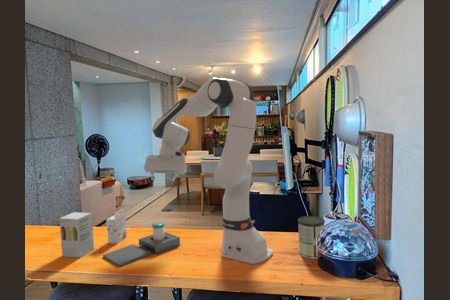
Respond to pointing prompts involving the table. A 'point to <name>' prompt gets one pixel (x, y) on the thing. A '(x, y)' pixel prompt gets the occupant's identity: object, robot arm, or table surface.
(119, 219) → the ink cartridge box
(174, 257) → the table surface
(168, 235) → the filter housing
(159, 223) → the teal-capped white cylinder
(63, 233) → the supplement box
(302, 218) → the coffee can
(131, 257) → the rubber mat
